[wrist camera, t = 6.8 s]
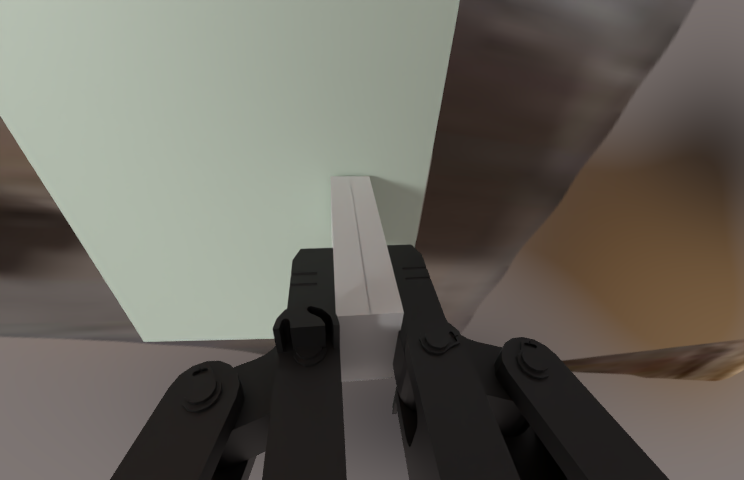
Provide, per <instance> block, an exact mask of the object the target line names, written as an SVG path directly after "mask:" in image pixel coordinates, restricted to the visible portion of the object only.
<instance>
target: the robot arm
mask: <svg viewBox="0 0 744 480" xmlns="http://www.w3.org/2000/svg"><path fill="white" fill-rule="evenodd" d="M330 181H331V228H332V248H308V249H300V250H299V252H298V253H297V254H296V256H295V257H294V259H293V260H292V269H291V278H290V287H289V296H288V305H287V309H285V310H284V311H283V312H282V313H281V314H280V315H279V316H278V317H277V319H276V321H275V324H274V326H273V334H274V339H275V343H276V346H275V347H274V348H273V349H272V350H271V351H270V352H268V353H267V354H265V355H264V356H262V357H259V358H257V359H255V360H253V361H250V362H247V363H244V364H242V365H239V366H236V367H234V368H233V367H232V366H231V365H229V364H227V363H224V362H221V361H207V362H203V363H201V364H198V365H195V366H192V367H191V368H189V369H188V370H187V371H185V372H184V373H182V374H181V375H179V376H178V378H177V379H176V380H175V381H174V382H173V383H172V385H171V386H170V387H169V388H168V390H167V392H166V393H165V395H164V396H163V398H162V399H161V401H160V402H159V404H158V406H157V407H156V409H155V410H154V412H153V414H152V415H151V416H150V418H149V420H148V421H147V423H146V425H145V426H144V427H143V429H142V431H141V432H140V434H139V435H138V437H137V438H136V440H135V442H134V443H133V445H132V446H131V448H130V449H129V451H128V452H127V454H126V456H125V457H124V459H123V460H122V462H121V463H120V465H119V467H118V468H117V470H116V471H115V473H114V474H113V476H112V477H111V479H110V480H248V478H249V476H250V473H251V470H252V467H253V464H254V461H255V459H256V456H257V455H259V454H260V453H263V452H265V451H266V452H265V461H264V469H263V477H262V480H347V478H346V459H345V439H344V422H343V421H344V420H343V401H342V382H349V381H361V380H373V379H385V378H392V374H393V369H394V374H395V380H396V385H397V387H396V391H395V396H394V401H393V410H392V414H396V413H397V412H398V417H399V423H400V429H401V434H402V440H403V446H404V451H405V457H406V463H407V469H408V475H409V480H669V479H668V478H667V477H666V475H665V474H664V473H663V472H662V471H661V470H660V469H659V468H658V467H657V466H656V464H655V463H654V462H653V461H652V460H651V459H650V458H649V457H648V456H647V455H646V453H645V452H643V450H642V449H641V448H640V447H639V446H638V445H637V444H636V443H635V441H634V440H633V439H632V438H631V437H630V436H629V435H628V434H627V432H625V430H624V429H623V428H622V427H621V426H620V425H619V424H618V423H617V422H616V420H615V419H614V418H613V417H612V416H611V415H610V414H609V413H608V412H607V411H606V409H605V408H604V407H603V406H602V405H601V404H600V403H599V402H598V401H597V399H596V398H594V396H593V395H592V394H591V393H590V392H589V391H588V390H587V388H586V387H585V386H584V385H583V384H582V383H581V382H580V381H579V380H578V379H577V377H576V376H575V375H574V374H573V373H572V372H571V371H570V370H569V369H568V367H567V366H566V365H565V364H564V363H563V362H562V361H561V360H560V359H559V358H558V356H557V355H556V354H555V353H553V352H552V351H551V350H550V349H549V348H548V347H546V346H545V345H543V344H541V343H539V342H537V341H535V340H533V339H529V338H524V337H519V338H512V339H510V340H509V341H507V342H506V343H505V344H504V346H503V348H502V347H497V346H493V345H488V344H484V343H479V342H476V341H473V340H470V339H467V338H465V337H464V336H462V335H461V334H460V333H459V331H458V330H457V329H456V328H455V327H453V326H452V325H451V324H450V323H448V322H447V320H446V318H445V316H444V313H443V310H442V308H441V305H440V302H439V300H438V297H437V294H436V292H435V289H434V286H433V284H432V281H431V279H430V276H429V273H428V270H427V269H426V265H425V262H424V260H423V257H422V255H421V254H420V253H419V252H418V251H417V250H416V249H415V248H414V247H413V246H412V245H411V244H408V245H387V244H386V240H385V236H384V232H383V228H382V224H381V220H380V216H379V213H378V209H377V205H376V201H375V197H374V193H373V189H372V185H371V181H370V177H369V176H330Z"/></svg>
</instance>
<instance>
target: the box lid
mask: <svg viewBox="0 0 744 480" xmlns="http://www.w3.org/2000/svg"><path fill="white" fill-rule="evenodd" d="M459 3H460V0H0V116H1V118H2V119H3V121H4V122H5V124H6V126H7V127H8V129H9V130H10V132H11V133H12V135H13V137H14V138H15V140H16V141H17V143H18V144H19V146H20V148H21V149H22V151H23V152H24V154H25V155H26V157H27V159H28V160H29V162H30V163H31V165H32V166H33V168H34V170H35V171H36V173H37V174H38V176H39V177H40V179H41V181H42V182H43V184H44V185H45V187H46V188H47V190H48V192H49V193H50V195H51V196H52V198H53V199H54V201H55V203H56V204H57V206H58V207H59V209H60V210H61V212H62V214H63V215H64V217H65V218H66V220H67V221H68V223H69V225H70V226H71V228H72V229H73V231H74V232H75V234H76V236H77V237H78V239H79V240H80V242H81V243H82V245H83V247H84V248H85V250H86V251H87V253H88V254H89V256H90V258H91V259H92V261H93V262H94V264H95V265H96V267H97V269H98V270H99V272H100V273H101V275H102V276H103V278H104V280H105V281H106V283H107V284H108V286H109V287H110V289H111V291H112V292H113V294H114V295H115V297H116V299H117V300H118V302H119V303H120V305H121V306H122V308H123V310H124V311H125V313H126V314H127V316H128V317H129V319H130V321H131V322H132V324H133V325H134V327H135V328H136V330H137V332H138V333H139V335H140V336H141V338H142V339H143V341H144V342H153V341H194V340H234V339H274V334H273V326H274V324H275V321H276V319H277V317H278V316H279V315H280V314H281V313H282V312H283V311H284V310H285V309H287V305H288V296H289V287H290V278H291V269H292V260H293V259H294V257H295V256H296V254H297V253H298V252H299V250H300V249H308V248H332V228H331V181H330V176H369V177H370V181H371V185H372V189H373V193H374V197H375V201H376V205H377V209H378V213H379V216H380V220H381V224H382V228H383V232H384V236H385V240H386V244H387V245H408V244H411V245H412V246H413V247H414V248H415V243H416V238H417V237H418V232H419V226H420V221H421V216H422V210H423V205H424V199H425V194H426V189H427V183H428V178H429V172H430V167H431V161H432V156H433V154H432V150H433V145H434V139H435V134H436V128H437V123H438V117H439V112H440V107H441V101H442V96H443V90H444V85H445V79H446V74H447V68H448V63H449V57H450V52H451V46H452V41H453V35H454V30H455V25H456V19H457V14H458V8H459Z"/></svg>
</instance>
